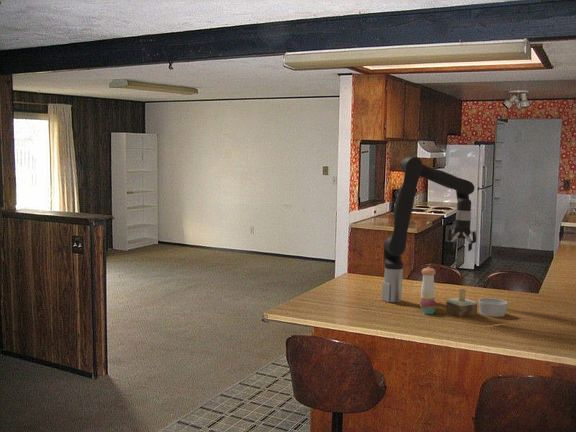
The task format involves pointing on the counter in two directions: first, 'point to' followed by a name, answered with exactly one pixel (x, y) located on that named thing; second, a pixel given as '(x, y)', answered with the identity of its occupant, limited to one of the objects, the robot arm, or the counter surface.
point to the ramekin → (492, 307)
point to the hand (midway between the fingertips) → (461, 249)
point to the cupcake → (428, 305)
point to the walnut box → (461, 309)
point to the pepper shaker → (427, 284)
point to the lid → (461, 299)
